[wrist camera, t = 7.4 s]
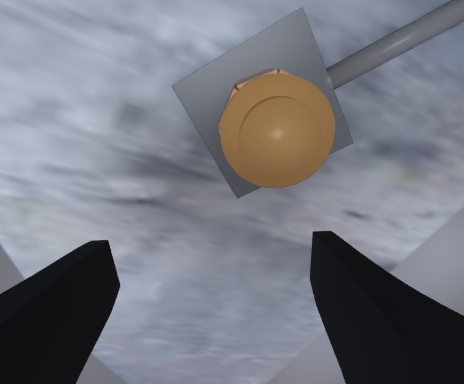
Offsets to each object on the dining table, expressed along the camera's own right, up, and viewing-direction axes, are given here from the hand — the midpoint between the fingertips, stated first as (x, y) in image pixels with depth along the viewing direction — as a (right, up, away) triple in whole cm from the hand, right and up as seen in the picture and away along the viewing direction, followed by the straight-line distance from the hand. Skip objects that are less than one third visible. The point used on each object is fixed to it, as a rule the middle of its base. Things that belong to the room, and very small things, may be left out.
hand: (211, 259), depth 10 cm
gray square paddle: (+7, +10, +6) cm, 14 cm away
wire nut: (+3, +7, +7) cm, 10 cm away
